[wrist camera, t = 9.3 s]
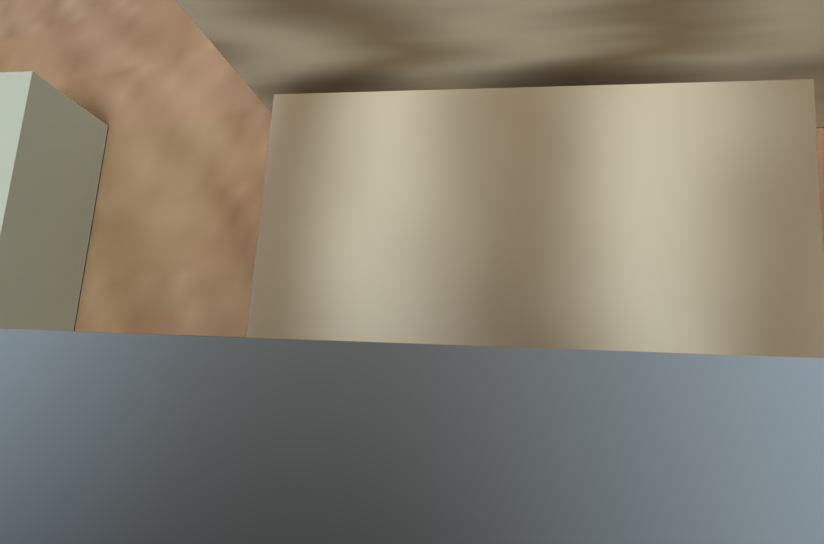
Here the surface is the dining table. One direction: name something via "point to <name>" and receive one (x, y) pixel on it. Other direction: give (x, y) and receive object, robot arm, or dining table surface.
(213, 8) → the beige stepped piece
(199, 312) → the dining table surface
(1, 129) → the pad
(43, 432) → the slate block
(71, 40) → the dining table surface
